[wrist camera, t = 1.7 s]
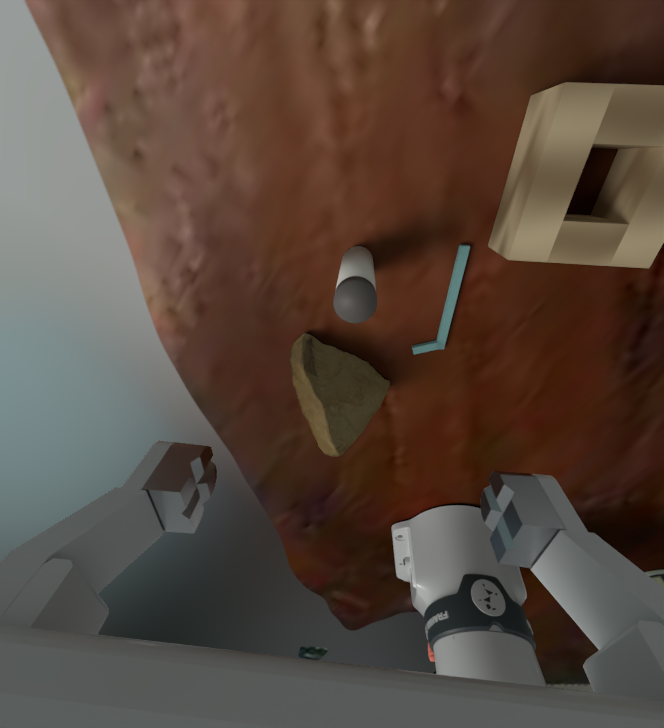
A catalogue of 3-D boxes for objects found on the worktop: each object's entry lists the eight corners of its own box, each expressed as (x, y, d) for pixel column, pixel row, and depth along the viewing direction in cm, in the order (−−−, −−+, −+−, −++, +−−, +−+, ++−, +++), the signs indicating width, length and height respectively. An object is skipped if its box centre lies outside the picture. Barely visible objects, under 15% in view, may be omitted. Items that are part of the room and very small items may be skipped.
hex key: (441, 354, 34) (441, 356, 33) (410, 352, 34) (410, 354, 33) (468, 245, 28) (470, 246, 27) (431, 243, 28) (432, 244, 27)
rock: (258, 354, 33) (299, 432, 36) (284, 368, 25) (333, 465, 29) (343, 308, 36) (373, 382, 40) (389, 308, 29) (422, 400, 32)
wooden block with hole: (609, 253, 27) (649, 268, 23) (487, 246, 28) (507, 259, 24) (682, 101, 22) (750, 88, 18) (531, 95, 22) (565, 82, 18)
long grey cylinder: (371, 278, 30) (374, 324, 21) (341, 276, 30) (332, 321, 22) (374, 246, 28) (379, 283, 20) (342, 244, 29) (334, 280, 20)
